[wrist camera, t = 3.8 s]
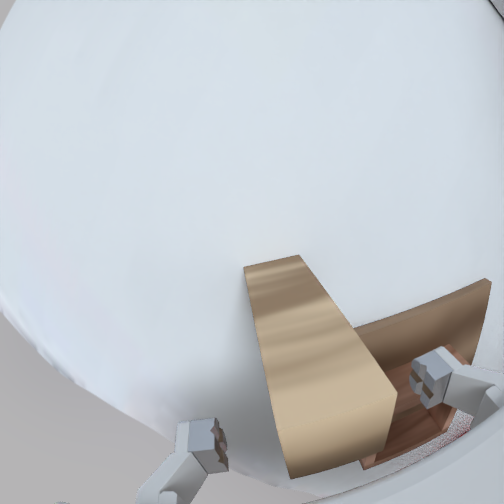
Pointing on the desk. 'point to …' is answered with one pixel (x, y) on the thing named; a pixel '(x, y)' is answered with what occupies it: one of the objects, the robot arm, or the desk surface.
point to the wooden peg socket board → (415, 345)
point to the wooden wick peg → (316, 371)
